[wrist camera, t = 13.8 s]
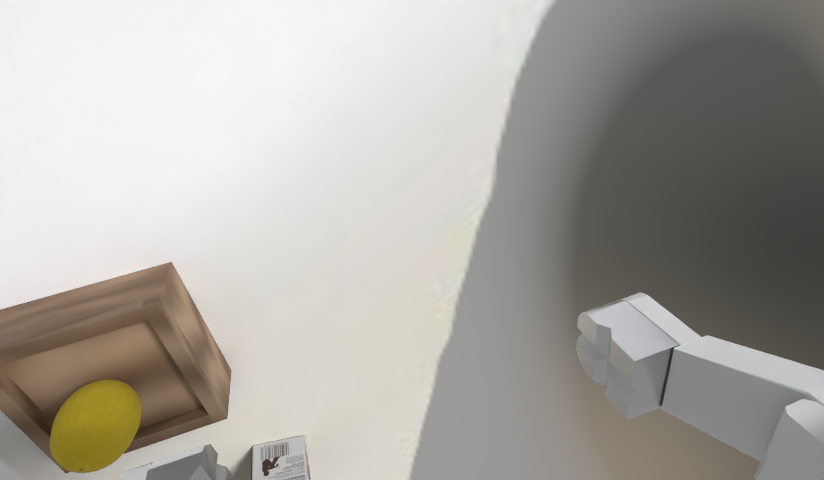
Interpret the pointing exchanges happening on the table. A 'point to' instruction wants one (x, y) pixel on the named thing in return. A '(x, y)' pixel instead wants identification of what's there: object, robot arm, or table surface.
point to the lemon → (95, 426)
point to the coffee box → (280, 460)
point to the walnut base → (114, 355)
